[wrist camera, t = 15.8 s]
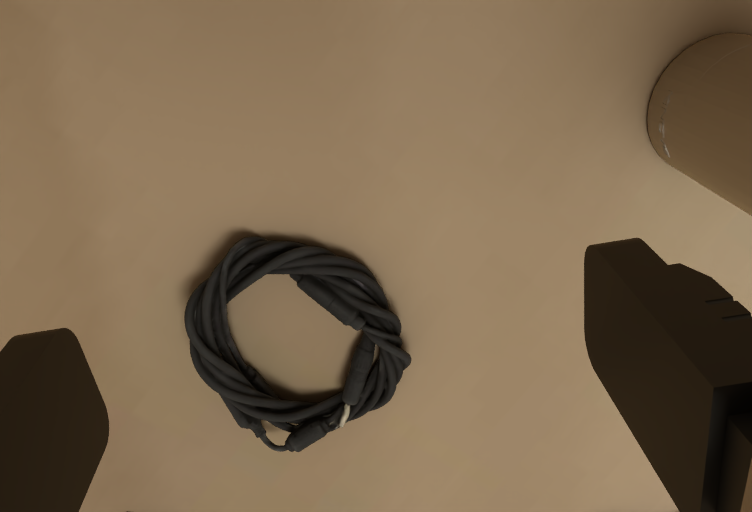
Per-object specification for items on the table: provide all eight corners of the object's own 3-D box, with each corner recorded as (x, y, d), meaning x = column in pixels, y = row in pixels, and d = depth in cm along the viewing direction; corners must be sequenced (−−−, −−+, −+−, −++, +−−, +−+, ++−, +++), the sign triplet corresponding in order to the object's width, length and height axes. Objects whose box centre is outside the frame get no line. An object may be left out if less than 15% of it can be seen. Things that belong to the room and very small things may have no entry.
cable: (158, 259, 45) (144, 290, 41) (352, 191, 44) (356, 215, 40) (258, 440, 53) (254, 481, 49) (425, 385, 52) (435, 421, 48)
